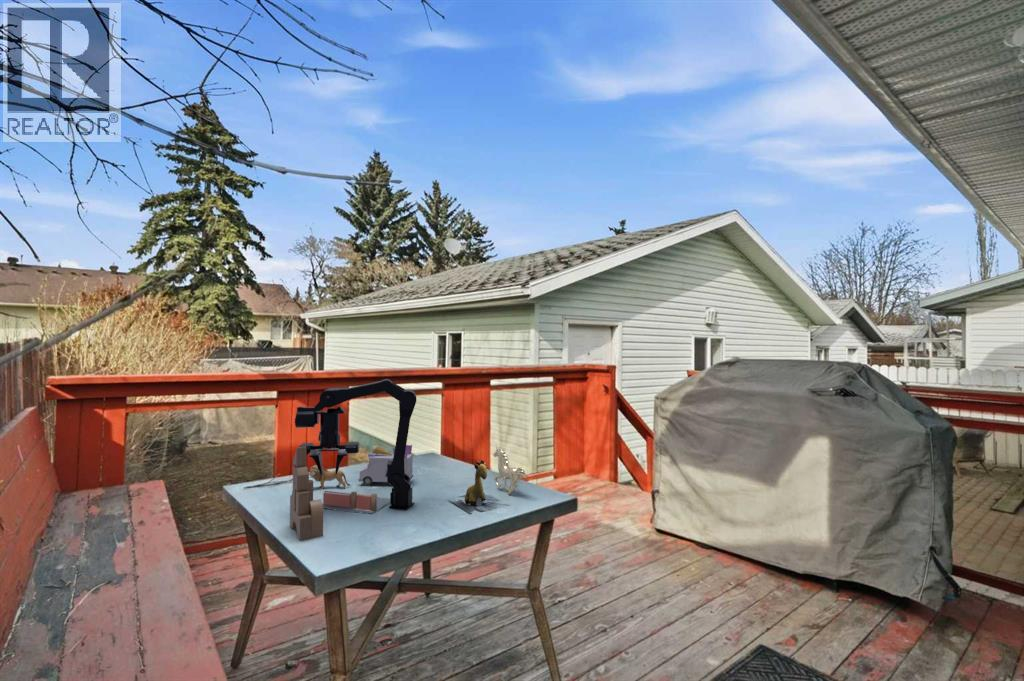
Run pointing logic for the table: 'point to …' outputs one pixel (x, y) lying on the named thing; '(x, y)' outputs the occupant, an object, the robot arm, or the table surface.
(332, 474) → the lion figurine
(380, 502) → the board
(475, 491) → the stuffed giraffe
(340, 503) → the gate panel
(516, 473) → the unicorn
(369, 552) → the table surface
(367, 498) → the fixed fence
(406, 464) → the toy vehicle
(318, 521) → the wooden toy
